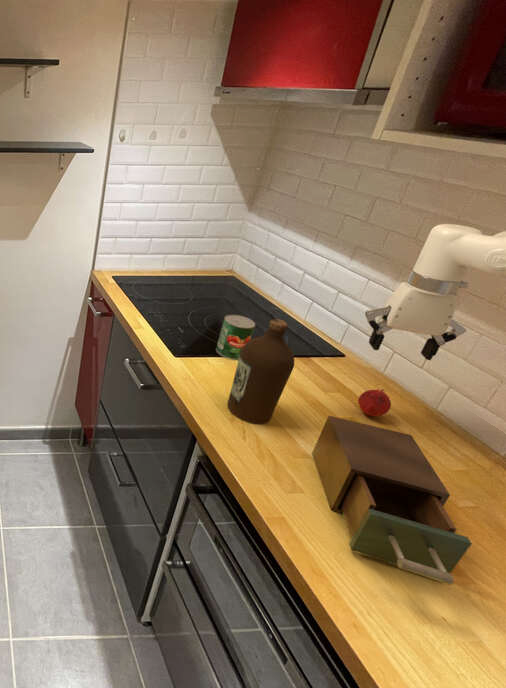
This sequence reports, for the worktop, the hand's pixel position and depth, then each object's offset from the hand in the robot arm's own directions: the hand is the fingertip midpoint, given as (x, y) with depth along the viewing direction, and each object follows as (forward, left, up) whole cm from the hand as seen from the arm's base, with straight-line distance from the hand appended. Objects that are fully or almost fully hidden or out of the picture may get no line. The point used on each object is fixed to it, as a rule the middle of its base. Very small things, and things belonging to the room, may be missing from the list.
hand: (399, 352), depth 101 cm
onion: (0, 0, -18) cm, 18 cm away
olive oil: (+27, +11, -18) cm, 34 cm away
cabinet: (+9, +29, -18) cm, 35 cm away
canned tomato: (+29, -17, -18) cm, 38 cm away
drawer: (+9, +42, -17) cm, 46 cm away
